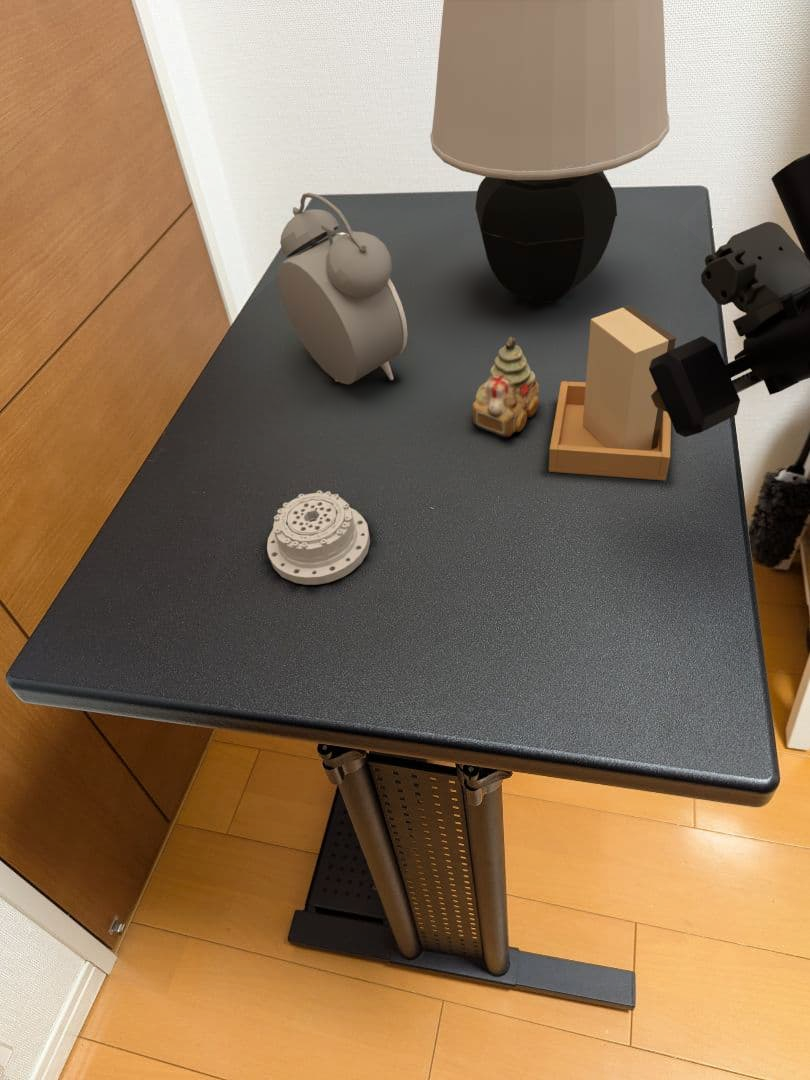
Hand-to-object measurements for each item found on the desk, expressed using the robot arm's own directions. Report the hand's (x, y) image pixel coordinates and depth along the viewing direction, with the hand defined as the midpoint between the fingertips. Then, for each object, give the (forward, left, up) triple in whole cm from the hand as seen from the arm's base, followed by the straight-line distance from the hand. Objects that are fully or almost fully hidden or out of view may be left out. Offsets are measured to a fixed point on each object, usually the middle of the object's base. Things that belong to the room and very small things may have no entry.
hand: (696, 380), depth 65 cm
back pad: (+6, -8, -13) cm, 16 cm away
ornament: (+18, -10, -14) cm, 25 cm away
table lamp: (+17, -37, -14) cm, 43 cm away
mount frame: (+7, -8, -14) cm, 17 cm away
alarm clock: (+38, -17, -14) cm, 44 cm away
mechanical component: (+33, +12, -14) cm, 38 cm away
